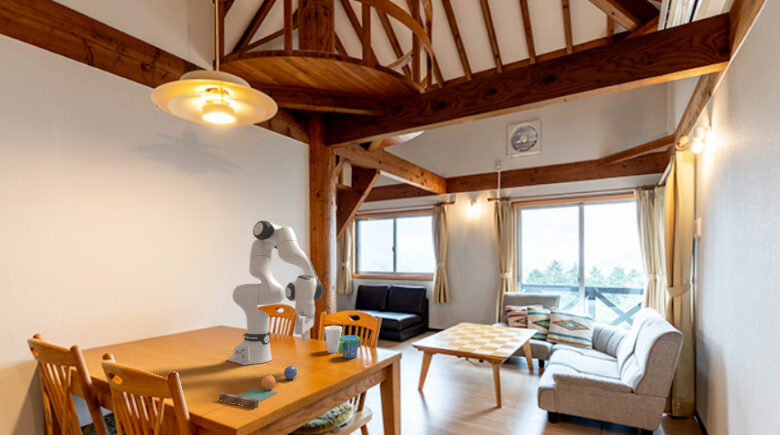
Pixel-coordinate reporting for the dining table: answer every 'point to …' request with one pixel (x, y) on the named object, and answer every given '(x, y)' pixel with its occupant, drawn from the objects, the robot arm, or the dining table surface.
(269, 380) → the orange ball
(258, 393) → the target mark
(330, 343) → the foam cup
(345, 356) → the snack cup
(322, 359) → the dining table surface
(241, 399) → the rail
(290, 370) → the blue ball
